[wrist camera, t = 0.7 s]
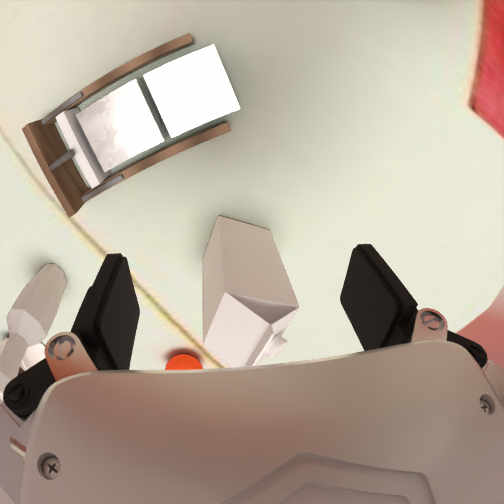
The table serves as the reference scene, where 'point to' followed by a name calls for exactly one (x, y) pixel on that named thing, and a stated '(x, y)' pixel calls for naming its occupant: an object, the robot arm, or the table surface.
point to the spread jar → (28, 355)
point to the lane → (59, 159)
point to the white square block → (122, 124)
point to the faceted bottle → (31, 319)
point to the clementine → (183, 363)
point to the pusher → (81, 147)
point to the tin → (192, 90)
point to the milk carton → (244, 294)
